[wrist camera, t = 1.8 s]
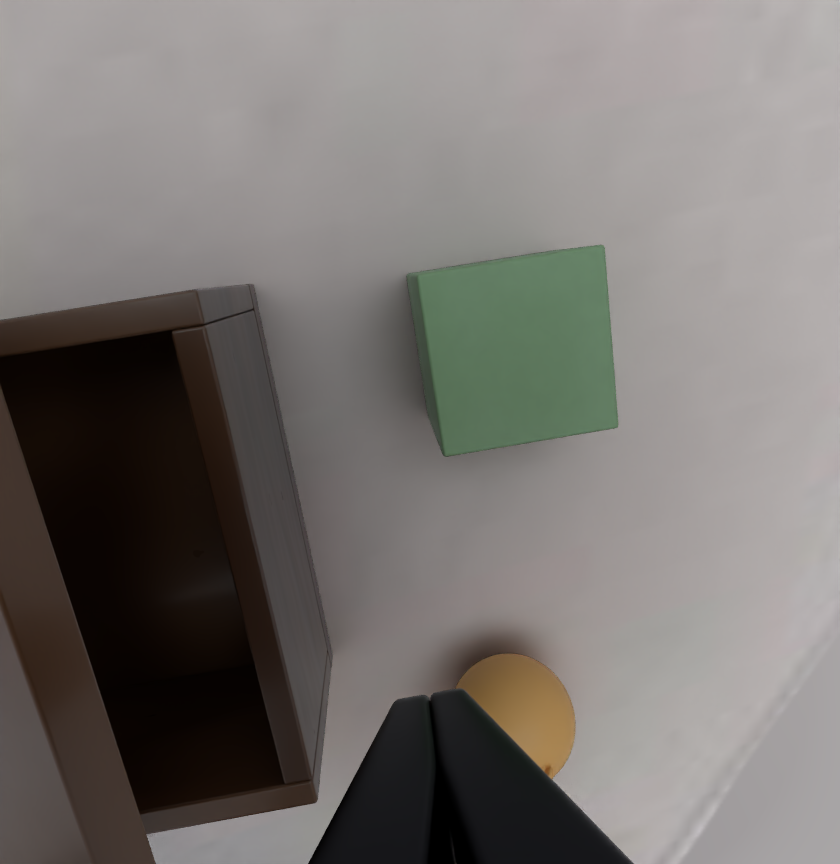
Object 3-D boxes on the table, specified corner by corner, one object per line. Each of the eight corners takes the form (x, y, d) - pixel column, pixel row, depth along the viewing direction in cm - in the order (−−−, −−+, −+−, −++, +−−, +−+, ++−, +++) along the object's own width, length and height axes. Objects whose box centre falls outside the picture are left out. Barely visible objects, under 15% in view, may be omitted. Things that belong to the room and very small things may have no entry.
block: (566, 395, 20) (619, 428, 16) (428, 418, 20) (443, 458, 16) (552, 250, 19) (605, 244, 15) (405, 273, 19) (416, 274, 14)
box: (253, 283, 18) (196, 289, 12) (333, 656, 22) (318, 804, 16) (-111, 341, 18) (-351, 375, 12) (23, 711, 21) (-115, 884, 15)
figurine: (626, 686, 23) (891, 1121, 11) (532, 811, 24) (685, 1327, 12) (428, 581, 21) (496, 960, 10) (337, 719, 22) (298, 1212, 11)
